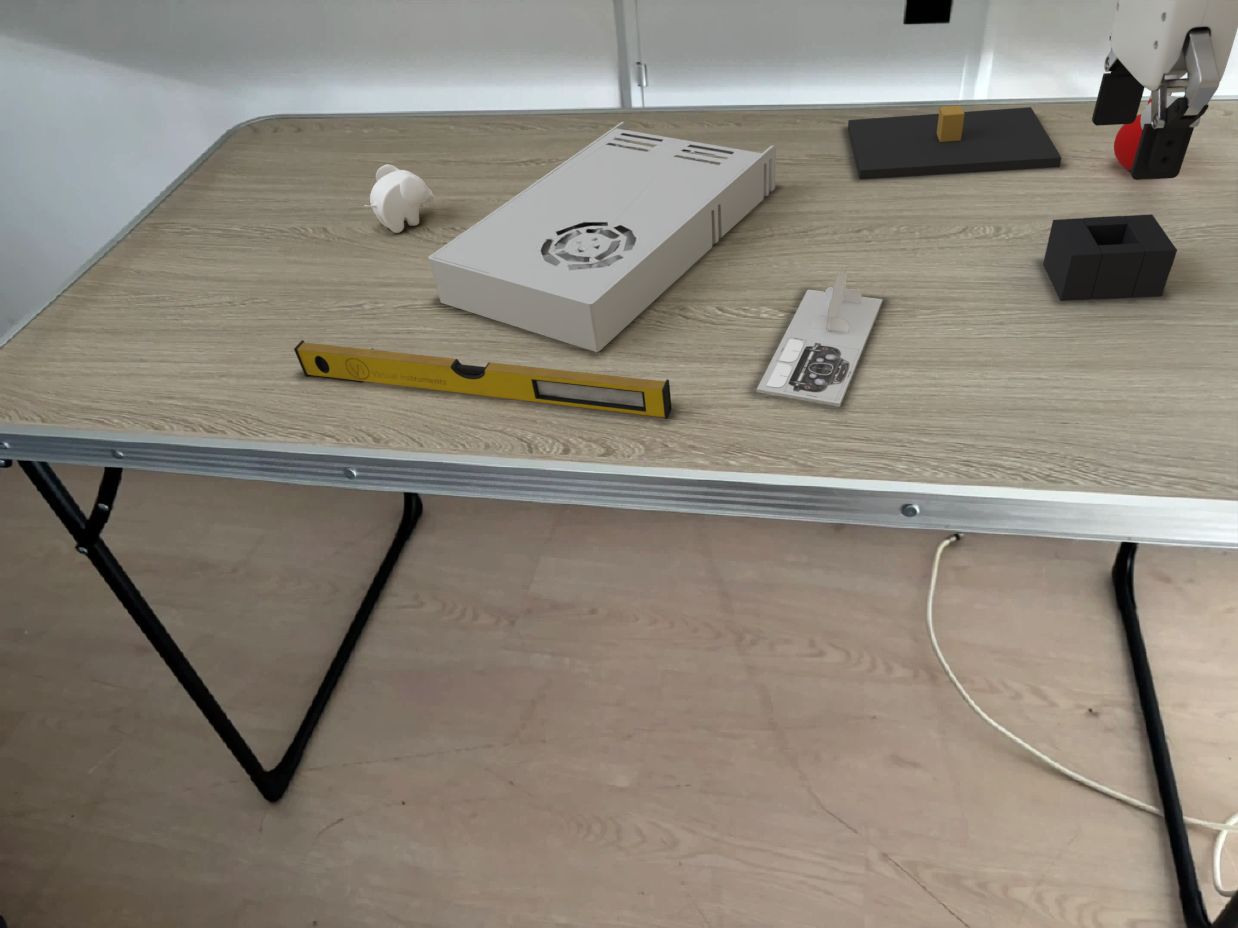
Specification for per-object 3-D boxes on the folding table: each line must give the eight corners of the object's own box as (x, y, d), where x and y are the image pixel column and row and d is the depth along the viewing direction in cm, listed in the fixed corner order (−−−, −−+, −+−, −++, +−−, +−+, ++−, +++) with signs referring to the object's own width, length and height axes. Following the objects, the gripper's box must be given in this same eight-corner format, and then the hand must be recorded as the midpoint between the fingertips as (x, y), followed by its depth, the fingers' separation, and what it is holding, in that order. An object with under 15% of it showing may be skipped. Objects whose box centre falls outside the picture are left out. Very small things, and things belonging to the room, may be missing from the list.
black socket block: (1138, 260, 81) (1152, 213, 78) (1161, 298, 77) (1177, 249, 74) (1042, 265, 82) (1052, 219, 79) (1060, 302, 78) (1071, 255, 75)
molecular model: (1163, 213, 86) (1197, 107, 80) (1098, 206, 88) (1125, 102, 82) (1174, 135, 97) (1204, 36, 91) (1116, 130, 100) (1141, 33, 93)
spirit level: (305, 376, 82) (293, 348, 80) (313, 367, 83) (301, 339, 81) (667, 420, 72) (664, 389, 70) (671, 409, 73) (669, 379, 71)
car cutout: (807, 293, 83) (808, 248, 80) (882, 303, 81) (886, 257, 78) (756, 393, 73) (755, 347, 70) (839, 408, 71) (843, 361, 68)
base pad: (1029, 117, 104) (1036, 79, 102) (1059, 168, 95) (1068, 128, 92) (847, 129, 107) (849, 93, 104) (859, 180, 98) (862, 142, 95)
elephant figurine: (452, 219, 101) (440, 167, 97) (388, 247, 98) (372, 195, 94) (422, 200, 105) (409, 150, 101) (360, 227, 102) (344, 176, 98)
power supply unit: (776, 189, 98) (776, 143, 95) (599, 354, 79) (591, 305, 76) (629, 161, 107) (624, 119, 104) (439, 303, 88) (426, 257, 85)
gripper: (1331, -78, 53) (1228, 198, 65) (1215, -138, 66) (1146, 102, 77) (1192, -67, 54) (1114, 203, 66) (1104, -128, 67) (1052, 108, 78)
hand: (1131, 148), depth 71 cm, fingers open, 9 cm apart
